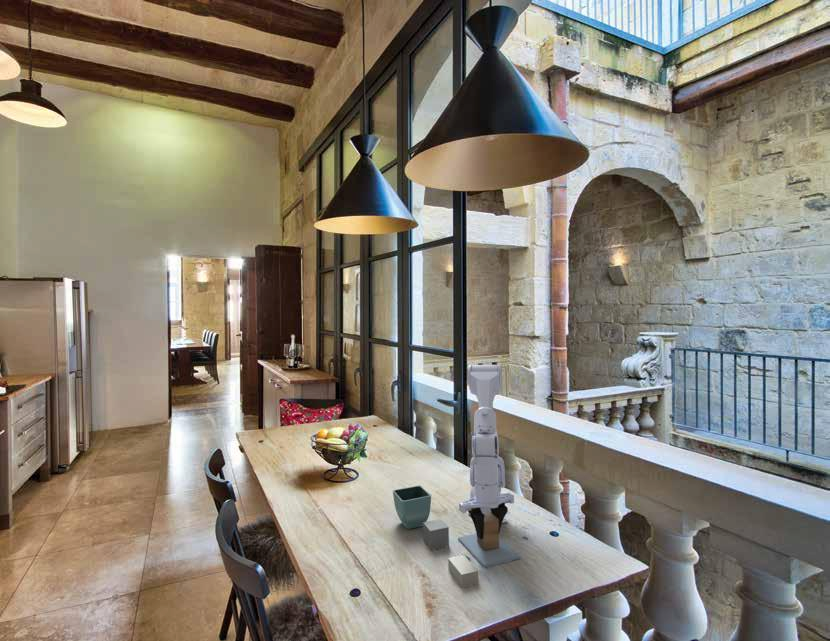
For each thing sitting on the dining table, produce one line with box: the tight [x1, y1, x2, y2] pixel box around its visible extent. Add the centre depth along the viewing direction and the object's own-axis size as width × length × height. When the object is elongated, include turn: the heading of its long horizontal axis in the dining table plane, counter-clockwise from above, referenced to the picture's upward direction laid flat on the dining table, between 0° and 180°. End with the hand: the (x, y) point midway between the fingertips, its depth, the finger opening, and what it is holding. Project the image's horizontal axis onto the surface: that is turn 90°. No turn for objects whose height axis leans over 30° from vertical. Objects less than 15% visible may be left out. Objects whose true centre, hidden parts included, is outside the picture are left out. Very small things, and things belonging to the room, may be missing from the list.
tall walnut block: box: [477, 512, 500, 550], centre depth 112 cm, size 4×4×7 cm
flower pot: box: [392, 485, 432, 530], centre depth 126 cm, size 9×9×9 cm
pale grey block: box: [447, 554, 479, 588], centre depth 100 cm, size 7×4×3 cm, turn 20°
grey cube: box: [422, 518, 450, 551], centre depth 115 cm, size 5×5×5 cm
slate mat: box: [457, 532, 522, 568], centre depth 112 cm, size 14×10×1 cm
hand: (487, 535), depth 112 cm, fingers closed on tall walnut block, 4 cm apart
